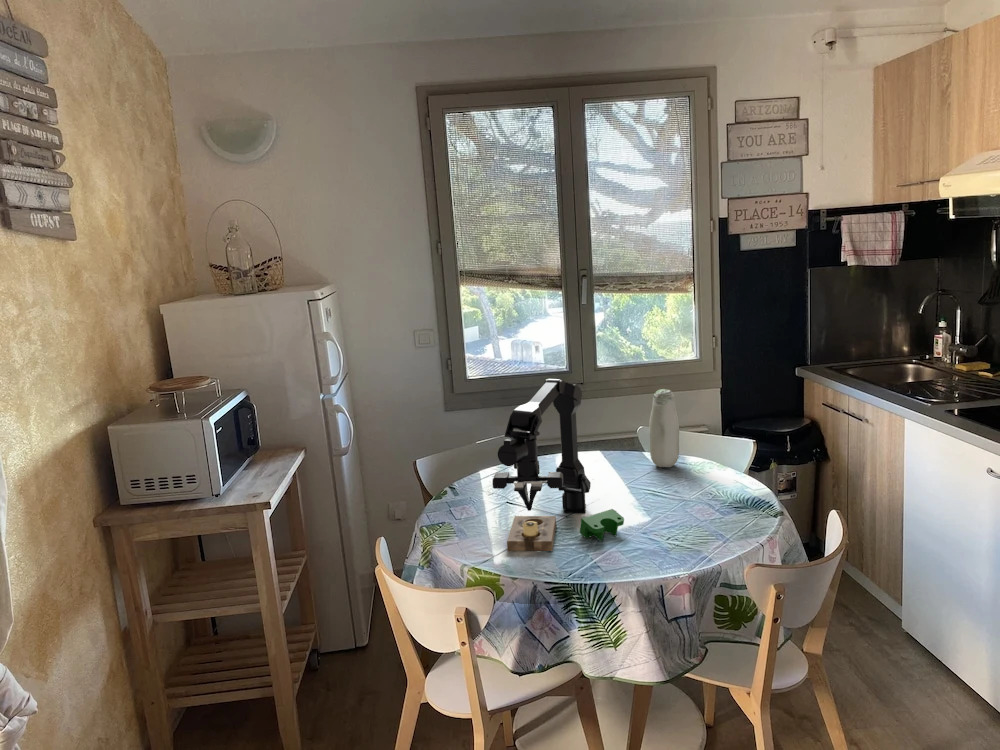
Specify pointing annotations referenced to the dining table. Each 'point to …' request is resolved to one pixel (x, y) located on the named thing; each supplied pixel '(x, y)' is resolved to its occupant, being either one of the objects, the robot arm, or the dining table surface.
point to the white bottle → (664, 429)
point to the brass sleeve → (530, 529)
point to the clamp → (601, 524)
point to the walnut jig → (532, 544)
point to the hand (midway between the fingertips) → (529, 510)
